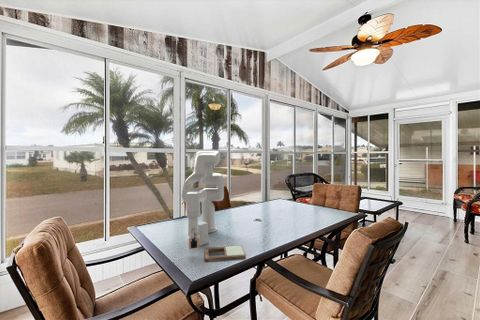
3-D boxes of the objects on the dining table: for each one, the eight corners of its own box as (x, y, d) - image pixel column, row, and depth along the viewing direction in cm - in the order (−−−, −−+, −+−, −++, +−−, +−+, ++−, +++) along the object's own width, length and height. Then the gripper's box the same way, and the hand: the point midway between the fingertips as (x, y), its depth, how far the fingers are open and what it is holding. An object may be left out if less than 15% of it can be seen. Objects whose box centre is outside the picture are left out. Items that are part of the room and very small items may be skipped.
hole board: (205, 250, 131) (205, 247, 131) (241, 247, 134) (241, 244, 134) (204, 261, 117) (204, 258, 117) (245, 258, 120) (245, 255, 120)
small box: (208, 243, 142) (208, 222, 142) (200, 246, 137) (200, 225, 137) (200, 239, 148) (200, 220, 147) (192, 242, 143) (192, 222, 143)
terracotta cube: (189, 244, 127) (189, 235, 127) (199, 244, 128) (199, 234, 128) (188, 249, 122) (188, 239, 121) (199, 248, 123) (198, 238, 122)
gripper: (188, 209, 132) (188, 239, 133) (185, 218, 115) (185, 253, 116) (200, 209, 133) (201, 238, 134) (199, 218, 116) (200, 251, 117)
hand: (194, 245), depth 125 cm, fingers closed on terracotta cube, 5 cm apart
